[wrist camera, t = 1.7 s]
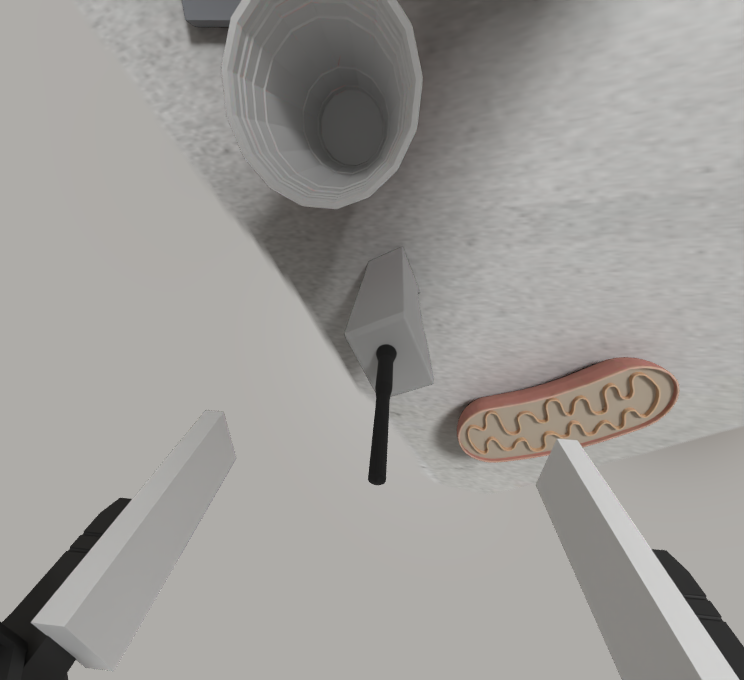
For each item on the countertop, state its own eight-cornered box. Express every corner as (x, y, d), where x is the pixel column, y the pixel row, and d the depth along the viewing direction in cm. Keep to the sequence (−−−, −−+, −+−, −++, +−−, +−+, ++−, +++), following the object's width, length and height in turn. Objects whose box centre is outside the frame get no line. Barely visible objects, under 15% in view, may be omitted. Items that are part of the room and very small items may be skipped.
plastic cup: (374, 4, 22) (351, -144, 12) (434, 153, 26) (457, 141, 16) (263, 98, 26) (169, 48, 15) (332, 218, 30) (296, 243, 19)
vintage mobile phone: (387, 301, 34) (364, 540, 12) (369, 260, 31) (300, 458, 10) (419, 289, 33) (458, 525, 11) (402, 245, 30) (408, 430, 9)
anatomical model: (642, 330, 33) (678, 354, 29) (648, 395, 37) (681, 425, 33) (442, 393, 39) (447, 420, 35) (466, 443, 43) (473, 473, 39)
